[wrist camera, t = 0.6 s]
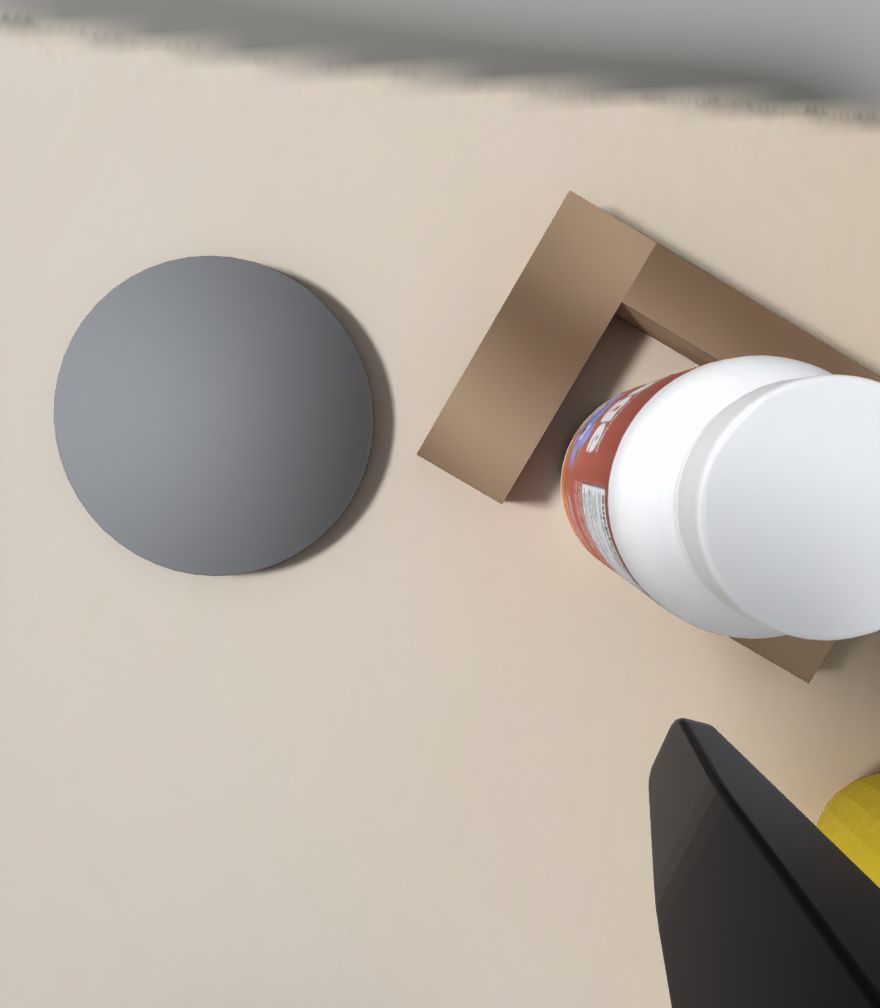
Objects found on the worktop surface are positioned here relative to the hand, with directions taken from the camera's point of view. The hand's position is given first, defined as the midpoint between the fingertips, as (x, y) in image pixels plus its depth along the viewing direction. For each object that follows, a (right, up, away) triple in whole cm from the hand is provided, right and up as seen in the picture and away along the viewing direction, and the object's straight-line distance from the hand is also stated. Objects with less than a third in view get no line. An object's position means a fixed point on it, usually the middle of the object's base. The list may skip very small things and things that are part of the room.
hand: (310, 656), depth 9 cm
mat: (-6, +5, +15) cm, 16 cm away
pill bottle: (+8, +3, +15) cm, 17 cm away
